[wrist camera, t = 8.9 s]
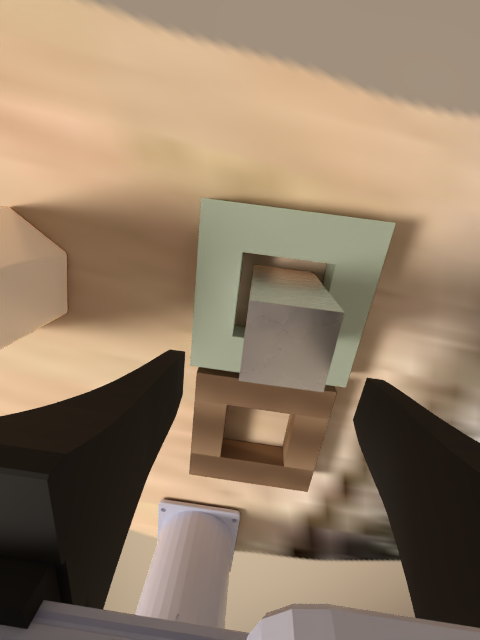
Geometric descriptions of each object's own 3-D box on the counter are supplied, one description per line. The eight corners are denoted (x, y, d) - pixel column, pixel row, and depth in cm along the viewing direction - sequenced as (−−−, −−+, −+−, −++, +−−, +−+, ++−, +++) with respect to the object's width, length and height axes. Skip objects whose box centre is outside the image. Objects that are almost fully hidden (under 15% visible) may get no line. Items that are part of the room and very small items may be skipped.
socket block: (304, 471, 26) (307, 491, 24) (194, 455, 26) (189, 474, 24) (330, 377, 22) (336, 392, 20) (202, 358, 22) (196, 372, 21)
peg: (301, 326, 21) (323, 392, 13) (246, 319, 21) (238, 380, 14) (312, 272, 19) (344, 312, 12) (253, 264, 20) (249, 300, 12)
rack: (338, 372, 22) (345, 387, 20) (196, 352, 22) (190, 365, 20) (381, 221, 18) (395, 222, 16) (207, 198, 18) (201, 197, 16)
